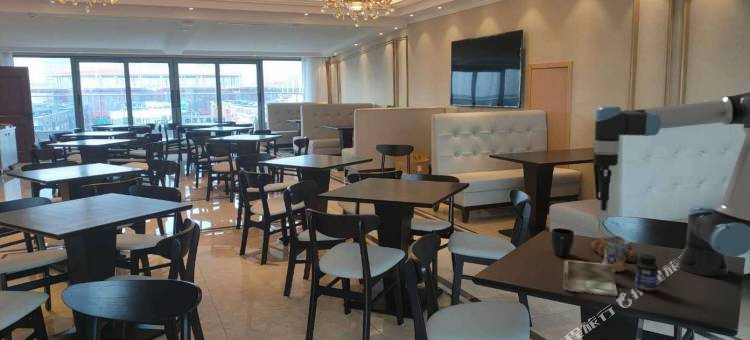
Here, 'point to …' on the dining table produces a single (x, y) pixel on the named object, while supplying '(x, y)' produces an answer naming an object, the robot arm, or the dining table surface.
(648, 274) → the pill bottle
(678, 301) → the dining table surface
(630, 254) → the pastry
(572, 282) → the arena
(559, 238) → the mug
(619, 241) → the mug
